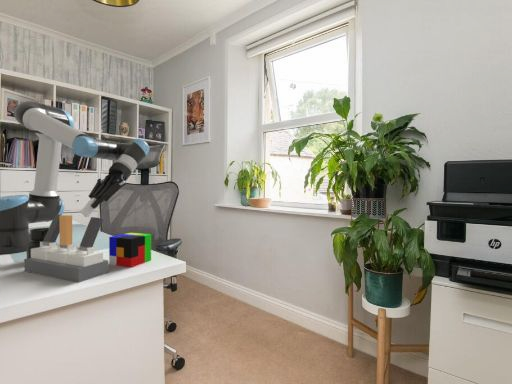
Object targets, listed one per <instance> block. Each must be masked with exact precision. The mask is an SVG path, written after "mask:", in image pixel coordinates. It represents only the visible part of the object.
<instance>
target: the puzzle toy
mask: <svg viewBox="0 0 512 384" xmlns="http://www.w3.org/2000/svg"><path fill="white" fill-rule="evenodd" d="M108 237H109V238H108V242H109V243H108V244H109V245H108V247H109V249H108V252H109V253H108V254H109V255H108V257H109V258H108V259H109V260H108V266H109V265H110V266H118V267H125V268H134V267H137V266H140V265H143V264H146V263H148V262H151V261H152V234H150V233H139V232H127V233H126V232H125V233H122V234H118V235H113V236H108Z"/></svg>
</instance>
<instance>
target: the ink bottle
mask: <svg viewBox="0 0 512 384" xmlns="http://www.w3.org/2000/svg"><path fill="white" fill-rule="evenodd" d="M48 229H49V227H42V228H41V227H40V228H32V229H30V230H29V233H30V238H31V239H30V240H31V242H30V243H29V244H28V245H27V247H26V251H25V252H26V259H27V258H31V249H33V248H38V247H40V242H43V240H44V238H45V236H46V233H47V231H48ZM56 246H58V244H57V242H56Z"/></svg>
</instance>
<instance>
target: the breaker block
mask: <svg viewBox="0 0 512 384" xmlns="http://www.w3.org/2000/svg"><path fill="white" fill-rule="evenodd" d="M59 216H60V215H55V216H54V218H53V220H52V221H50V222H51V223H50V224H49V227H48V228H49V229H48V231H47V233H46V236H45V238H44V240H43V242H40V247H38V248H33V249H31V258H27V257H26V258H24V259H23V261H24V264H23V265H24V269H23V270H24V272H28V273H33V274H37V275H41V276H47V277H51V278H55V279H62V280H67V281H71V282H76V283H80V282H84V281H86V280H91V279H93V278H96V277H99V276H102V275H105V274H107V273H109V260H108V259H104V252H103V251H96V250H95V247H94V245H95V242H96V239H97V238H98V234H99V232H100V229H101V227H102V223H103V221H104V219H103V218H100V217H94V216H93V217H92V216H91V217H90V218H89V219H90V220H89V222H88V224H87V227H86V230H85V231H84V234H83V236H82V239H81V241H80V244H79V245H78V246H75V243H74V244H73V243H72V245H68V246H67V249H65V248H61V247H60V243H58V244H57V246H56V243H57V242H56V241H57V239H58V237H59V236H60V224H59Z"/></svg>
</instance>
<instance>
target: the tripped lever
mask: <svg viewBox="0 0 512 384" xmlns="http://www.w3.org/2000/svg"><path fill="white" fill-rule="evenodd" d="M59 224H60V233H59V244H60V247H61V248H65V249H67V246H68V245H73V215H71V214H69V215H68V214H62V215H60V216H59Z"/></svg>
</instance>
